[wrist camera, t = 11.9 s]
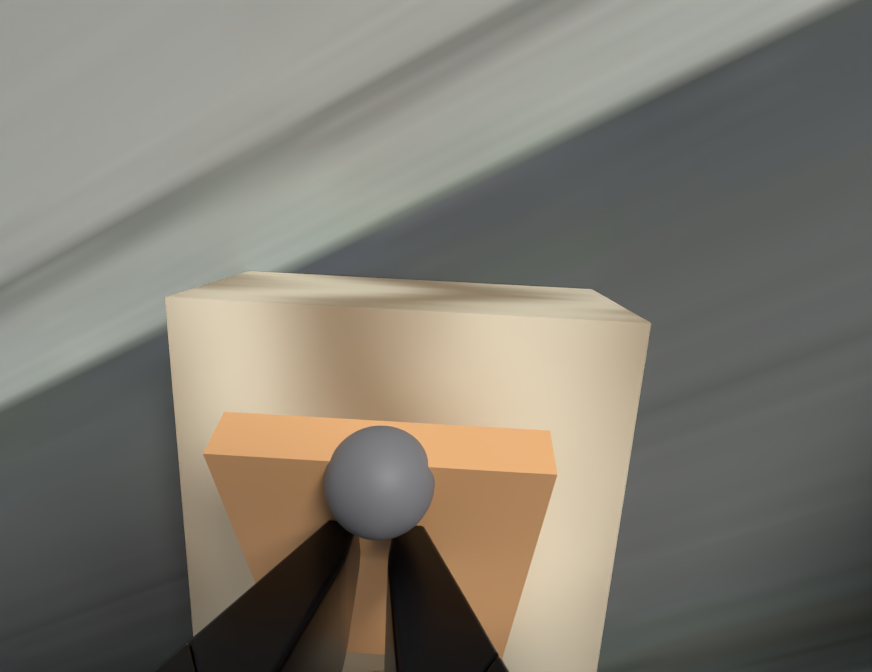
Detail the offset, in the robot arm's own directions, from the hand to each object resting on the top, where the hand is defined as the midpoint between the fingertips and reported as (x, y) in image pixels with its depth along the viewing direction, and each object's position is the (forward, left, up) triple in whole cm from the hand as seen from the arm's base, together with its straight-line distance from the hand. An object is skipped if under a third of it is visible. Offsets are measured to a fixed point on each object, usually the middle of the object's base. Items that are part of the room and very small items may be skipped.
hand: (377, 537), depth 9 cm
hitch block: (0, +5, -7) cm, 8 cm away
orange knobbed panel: (0, +1, -1) cm, 1 cm away
